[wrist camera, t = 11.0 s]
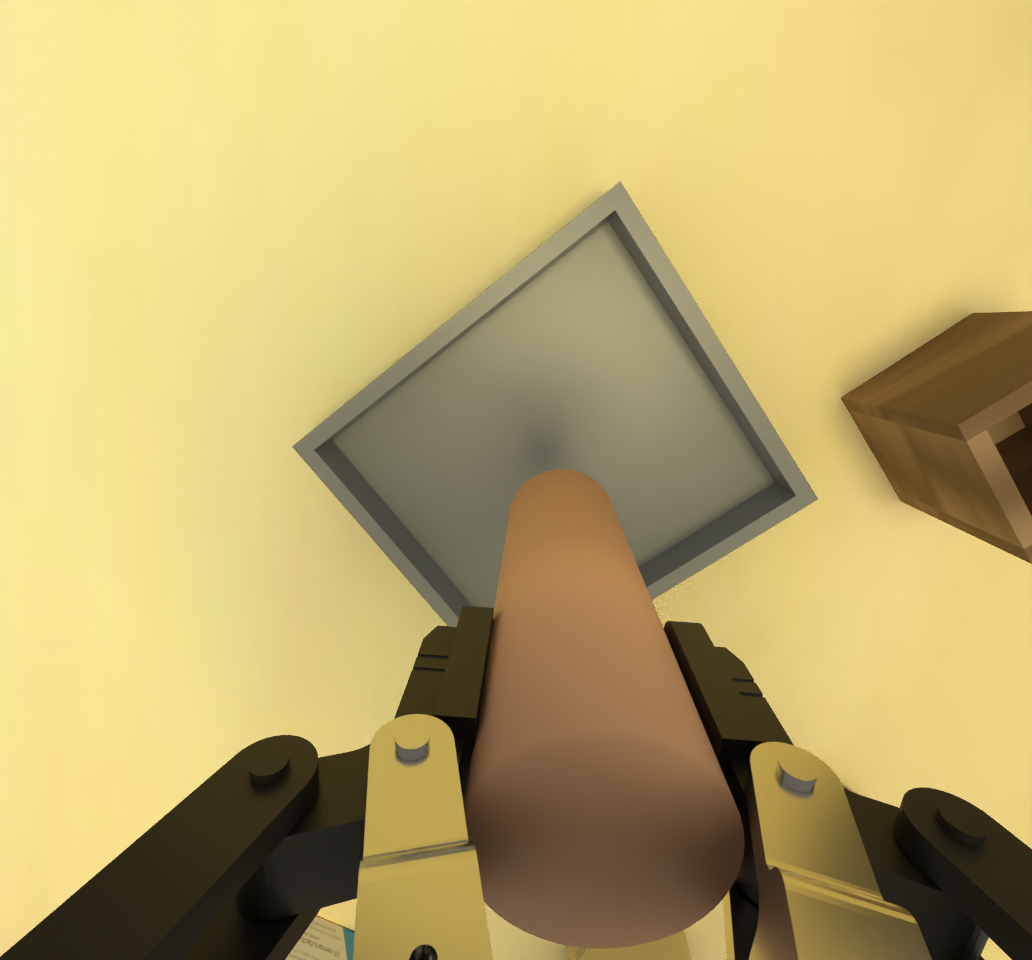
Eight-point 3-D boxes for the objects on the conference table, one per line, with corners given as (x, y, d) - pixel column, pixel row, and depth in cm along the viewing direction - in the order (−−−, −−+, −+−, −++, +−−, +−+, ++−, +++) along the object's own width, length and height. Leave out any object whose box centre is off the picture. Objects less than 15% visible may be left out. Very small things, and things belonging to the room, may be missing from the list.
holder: (1029, 426, 28) (1217, 464, 20) (901, 501, 29) (1031, 563, 21) (973, 313, 26) (1153, 307, 18) (841, 398, 28) (957, 425, 20)
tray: (790, 482, 29) (818, 499, 26) (506, 658, 33) (503, 689, 30) (610, 197, 25) (620, 181, 22) (316, 434, 29) (292, 446, 26)
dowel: (634, 530, 20) (797, 879, 7) (548, 585, 21) (564, 982, 8) (574, 448, 19) (643, 683, 6) (488, 508, 20) (401, 819, 7)
